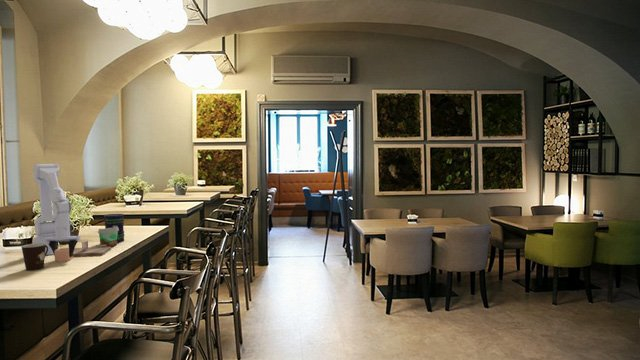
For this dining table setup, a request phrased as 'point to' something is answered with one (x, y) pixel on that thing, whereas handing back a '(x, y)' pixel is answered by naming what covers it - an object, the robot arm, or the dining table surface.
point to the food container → (108, 236)
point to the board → (91, 251)
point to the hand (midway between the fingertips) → (63, 256)
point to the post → (84, 245)
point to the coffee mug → (34, 256)
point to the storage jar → (115, 224)
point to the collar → (62, 254)
